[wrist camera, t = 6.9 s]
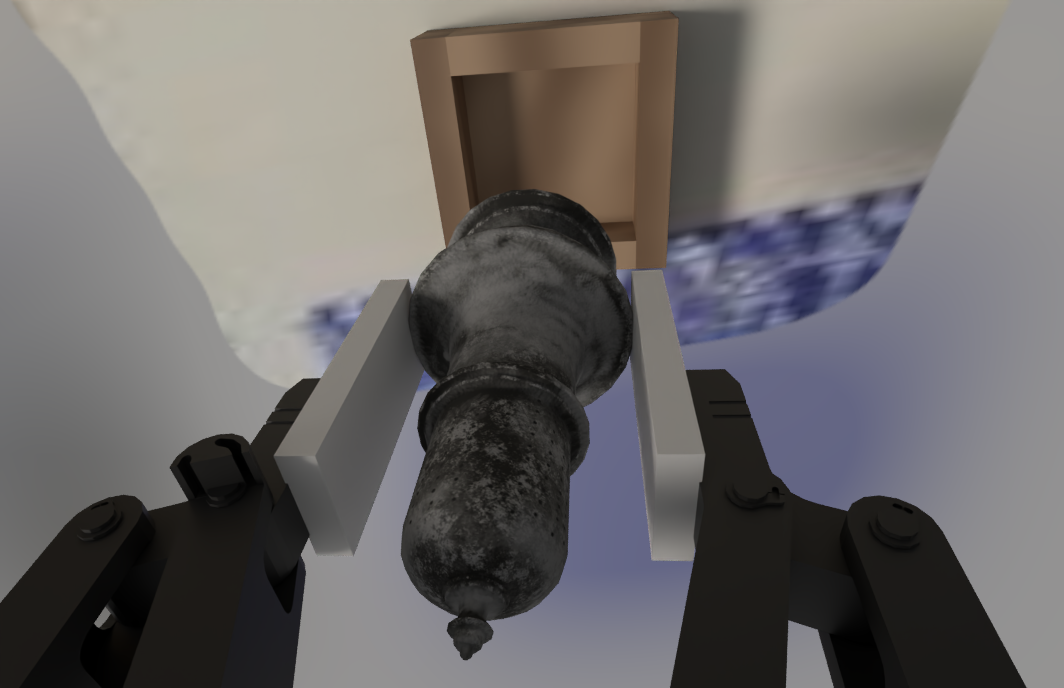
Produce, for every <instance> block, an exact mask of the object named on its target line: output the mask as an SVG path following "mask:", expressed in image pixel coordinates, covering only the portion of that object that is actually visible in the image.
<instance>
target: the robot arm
mask: <svg viewBox="0 0 1064 688" xmlns="http://www.w3.org/2000/svg"><path fill="white" fill-rule="evenodd" d="M411 296H412V292H411V288H410V283H409V279H401V280H381V281H380V283H379V284H378V286H377V288H376V289H375V291H374V292H373V294H372V296H371V297H370V299H369V301H368V302H367V304H366V306H365V307H364V309H363V310H362V312H361V314H360V315H359V317H358V319H357V320H356V322H355V324H354V325H353V327H352V328H351V330H350V332H349V333H348V335H347V337H346V338H345V340H344V342H343V343H342V345H341V346H340V348H339V350H338V351H337V353H336V355H335V356H334V358H333V360H332V361H331V363H330V364H329V366H328V368H327V369H326V371H325V373H324V374H323V376H322V377H321V378H311V379H302V380H301V381H300V382H298V383H297V384H296V385H295V386H293V387H292V388H291V389H289V390H288V391H287V392H286V393H285V394H284V396H283V397H282V399H281V400H280V402H279V403H278V404H277V406H276V408H275V412H272V413H271V415H270V416H269V418H268V420H267V421H266V425H263V427H262V428H261V430H260V431H259V433H258V434H257V436H256V437H255V439H254V440H253V442H252V443H251V445H249V442H248V441H247V440H246V439H244V437H243V436H239V435H235V434H220V435H215V436H212V437H209V438H205V439H203V440H201V441H199V442H197V443H195V444H193V445H191V446H189V447H188V448H187V449H185V450H184V451H183V452H182V453H181V454H179V455H178V456H177V457H176V459H175V460H174V461H173V463H172V464H171V466H170V469H171V471H172V473H173V474H174V476H175V478H176V479H177V481H178V483H179V485H180V486H181V488H182V490H183V491H184V493H185V495H186V497H187V498H188V501H186V502H183V503H179V504H175V505H171V506H167V507H163V508H159V509H155V510H151V511H147V509H146V508H145V506H144V505H143V503H142V502H141V501H140V500H139V499H137V498H136V497H135V496H128V495H120V496H115V497H109V498H106V499H104V500H101V501H99V502H97V503H94V504H92V505H90V506H89V507H87V508H86V509H84V510H82V511H81V512H79V513H78V514H77V515H76V516H75V517H73V519H71V521H69V522H68V523H67V524H66V525H65V526H64V527H63V529H62V530H61V531H60V532H59V533H58V535H57V536H56V537H55V538H54V539H53V541H52V542H51V543H50V544H49V545H48V547H47V548H46V549H45V550H44V551H43V553H42V554H41V555H40V556H39V557H38V559H37V560H36V561H35V562H34V563H33V565H32V566H31V567H30V568H29V569H28V571H27V572H26V573H25V574H24V575H23V576H22V578H21V579H20V580H19V581H18V583H17V584H16V585H15V586H14V587H13V589H12V590H11V591H10V592H9V593H8V594H7V596H6V597H5V598H4V599H3V600H2V602H1V603H0V688H293V681H294V673H295V664H296V655H297V646H298V638H299V629H300V619H301V611H302V602H303V594H304V584H305V576H306V571H305V564H304V562H303V559H302V557H301V553H302V550H303V549H304V546H305V544H306V542H307V540H308V538H310V541H311V543H312V545H313V548H314V550H315V552H316V554H317V555H318V556H354V553H355V551H356V548H357V546H358V543H359V540H360V538H361V535H362V532H363V530H364V527H365V524H366V522H367V519H368V517H369V514H370V511H371V509H372V506H373V503H374V501H375V498H376V495H377V493H378V490H379V488H380V485H381V482H382V480H383V477H384V475H385V472H386V469H387V466H388V464H389V461H390V459H391V456H392V454H393V451H394V448H395V446H396V443H397V440H398V438H399V435H400V432H401V430H402V427H403V425H404V422H405V419H406V416H407V414H408V411H409V409H410V406H411V403H412V401H413V398H414V395H415V393H416V390H417V388H418V385H419V382H420V380H421V377H422V375H423V372H424V367H423V366H422V364H421V362H420V360H419V358H418V357H417V355H416V353H415V350H414V346H413V342H412V338H411V333H410V329H409V323H408V318H409V305H410V299H411ZM631 309H632V312H633V345H632V350H631V353H630V360H631V370H632V380H633V389H634V398H635V408H636V417H637V426H638V435H639V445H640V454H641V464H642V473H643V482H644V492H645V501H646V510H647V518H648V519H647V520H648V529H649V538H650V548H651V557H652V560H663V561H665V560H666V561H668V560H669V561H670V560H671V561H693V557H694V548H695V549H696V552H695V558H694V563H693V569H692V574H691V579H690V585H689V590H688V595H687V600H686V606H685V611H684V616H683V622H682V627H681V633H680V638H679V643H678V648H677V654H676V659H675V665H674V670H673V675H672V680H671V686H670V688H786V668H787V641H788V620H790V621H793V622H796V623H799V624H802V625H805V626H808V627H811V628H814V629H818V632H819V636H820V639H821V643H822V646H823V650H824V654H825V657H826V660H827V664H828V668H829V671H830V675H831V679H832V682H833V686H834V688H1026V686H1025V684H1024V682H1023V680H1022V678H1021V676H1020V675H1019V673H1018V671H1017V669H1016V667H1015V665H1014V664H1013V662H1012V660H1011V658H1010V656H1009V654H1008V652H1007V650H1006V649H1005V647H1004V645H1003V643H1002V641H1001V640H1000V638H999V636H998V634H997V632H996V630H995V628H994V626H993V624H992V623H991V621H990V619H989V617H988V615H987V613H986V612H985V609H984V608H983V606H982V604H981V602H980V600H979V598H978V596H977V595H976V593H975V591H974V589H973V587H972V585H971V584H970V582H969V580H968V578H967V576H966V574H965V572H964V570H963V569H962V567H961V565H960V563H959V561H958V560H957V558H956V556H955V554H954V552H953V550H952V548H951V546H950V544H949V543H948V541H947V539H946V537H945V535H944V534H943V531H942V530H941V529H940V528H939V526H938V525H937V524H936V523H935V521H934V520H933V519H932V518H931V517H930V516H929V515H927V514H926V513H925V512H923V511H921V510H920V509H919V508H918V507H916V506H914V505H912V504H909V503H907V502H904V501H902V500H900V499H897V498H891V497H885V496H871V497H863V498H862V499H860V500H858V501H856V502H855V503H853V504H852V505H851V507H850V509H849V510H848V511H845V510H841V509H837V508H832V507H829V506H824V505H821V504H817V503H814V502H811V501H808V500H805V499H802V498H800V497H799V496H797V495H795V494H793V493H791V492H790V490H789V489H788V488H787V486H786V485H785V484H784V483H783V482H782V480H781V479H780V478H778V477H777V476H775V475H774V474H772V472H771V470H770V468H769V465H768V462H767V459H766V456H765V453H764V451H763V448H762V445H761V442H760V439H759V436H758V434H757V431H756V428H755V425H754V422H753V419H752V418H751V414H750V411H749V408H748V405H747V404H746V400H745V396H744V394H743V391H742V388H741V385H740V383H739V382H738V381H737V380H735V378H733V377H732V376H731V375H730V374H729V373H728V372H727V371H726V370H725V369H716V370H715V369H714V370H713V369H712V370H685V366H684V362H683V358H682V353H681V349H680V345H679V341H678V336H677V332H676V328H675V323H674V319H673V315H672V311H671V306H670V302H669V298H668V294H667V289H666V285H665V281H664V277H663V272H662V270H648V271H632V279H631ZM105 607H106V608H107V609H108V610H109V612H110V613H111V614H110V616H109V617H108V619H107V620H106V622H105V623H104V624H103V625H102V626H101V627H100V628H98V627H96V625H95V624H94V622H95V621H96V620H97V618H98V616H99V615H100V614H101V612H102V610H103V609H104V608H105Z"/></svg>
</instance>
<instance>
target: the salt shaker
mask: <svg viewBox="0 0 1064 688" xmlns="http://www.w3.org/2000/svg"><path fill="white" fill-rule="evenodd" d="M408 323H409V329H410V333H411V338H412V342H413V346H414V350H415V353H416V355H417V357H418V358H419V360H420V362H421V364H422V366H423V367H424V369H425V371H426V372H427V373H428V374H429V376H430V377H431V378H432V379H433V380H434V381H435V382H436V383H437V384H436V385H435V386H434V387H433V388H432V389H431V390H430V391H429V392H428V393H427V395H426V397H425V400H424V402H423V404H422V406H421V408H420V410H419V418H418V427H417V429H418V433H419V437H420V442H421V445H422V447H423V449H424V451H425V452H426V455H425V458H424V461H423V464H422V467H421V470H420V474H419V477H418V480H417V483H416V486H415V489H414V493H413V496H412V499H411V502H410V505H409V509H408V512H407V515H406V518H405V521H404V524H403V532H402V543H401V557H402V560H403V563H404V567H405V570H406V571H407V574H408V575H409V577H410V580H411V581H412V583H413V584H414V586H415V587H416V589H417V590H418V591H419V593H420V594H421V595H423V596H424V597H425V598H426V599H427V600H429V601H430V602H431V603H433V604H434V605H436V606H438V607H439V608H441V609H443V610H445V611H447V612H448V613H450V614H453V615H456V616H458V618H455V619H454V620H452V621H451V622H449V623H448V628H447V632H448V634H449V635H450V637H451V638H453V642H454V646H455V647H456V649H457V650H458V651H459V652H460V656H461V658H463V660H468V659H470V658H471V657H472V655H473V654H474V653H476V652H477V651H479V650H481V648H482V645H483V644H484V643H486V642H488V641H489V640H491V639H492V635H493V630H492V628H491V627H490V625H489V624H488V623H487V622H486V621H487V620H488V621H491V620H497V619H504V618H508V617H512V616H515V615H518V614H521V613H524V612H527V611H528V610H530V609H532V608H533V607H535V606H537V605H538V604H539V603H540V602H541V601H542V600H543V599H544V598H545V597H546V596H547V595H548V594H549V593H550V592H551V591H552V590H553V589H554V588H555V586H556V585H557V584H558V583H559V580H560V578H561V575H562V572H563V569H564V565H565V562H566V559H567V555H568V522H569V489H570V476H571V475H572V474H573V473H574V472H575V471H576V470H577V468H578V467H579V466H580V464H581V463H582V462H583V460H584V458H585V455H586V453H587V449H588V446H589V444H590V440H589V421H588V419H587V416H586V413H585V411H584V408H583V407H585V406H587V405H589V404H591V403H592V402H594V401H595V400H596V399H598V398H599V397H600V396H601V395H603V394H604V393H605V392H606V391H607V390H609V389H610V388H611V387H612V386H613V384H614V383H615V381H616V380H617V379H618V377H619V376H620V375H621V373H622V372H623V370H624V369H625V368H626V365H627V362H628V359H629V356H630V353H631V350H632V345H633V312H632V309H631V305H630V302H629V299H628V295H627V292H626V290H625V288H624V287H623V285H622V284H621V282H620V281H619V279H618V278H617V276H616V256H615V253H614V250H613V246H612V243H611V240H610V238H609V236H608V234H607V233H606V231H605V230H604V228H603V227H602V225H601V224H600V222H599V221H598V219H596V218H595V217H594V216H593V215H592V214H591V213H590V212H589V211H587V210H586V209H585V208H584V207H583V206H582V205H581V204H579V203H577V202H574V201H572V200H570V199H568V198H566V197H564V196H562V195H560V194H557V193H552V192H548V191H543V190H538V189H525V190H510V191H507V192H504V193H501V194H498V195H495V196H492V197H489V198H487V199H486V200H484V201H483V202H481V203H480V204H478V205H477V206H475V207H474V208H472V209H471V210H470V211H469V212H468V213H467V214H466V215H465V217H464V218H463V219H462V220H461V221H460V222H459V224H458V225H457V226H456V228H455V230H454V233H453V235H452V237H451V239H450V242H449V244H448V246H447V248H446V249H444V250H443V251H441V252H440V253H438V254H437V256H436V257H435V258H434V259H433V260H432V261H431V263H430V264H429V265H428V266H427V267H426V269H425V270H424V271H423V272H422V273H421V275H420V277H419V279H418V282H417V284H416V286H415V289H414V291H413V294H412V296H411V299H410V305H409V318H408Z"/></svg>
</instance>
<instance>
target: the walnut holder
mask: <svg viewBox="0 0 1064 688" xmlns="http://www.w3.org/2000/svg"><path fill="white" fill-rule="evenodd" d="M678 22H679V18H677V17H676V16H675V15H674V14H672V13H671V12H670V11H662V12H650V13H637V14H625V15H613V16H601V17H589V18H576V19H564V20H552V21H540V22H527V23H515V24H503V25H491V26H478V27H466V28H454V29H442V30H429V31H426V32H424V33H422V34H420V35H419V36H417V37H415V38H413V39H411V40H410V42H411V48H412V54H413V60H414V65H415V71H416V77H417V83H418V89H419V94H420V100H421V106H422V112H423V118H424V123H425V129H426V135H427V141H428V146H429V152H430V158H431V164H432V170H433V175H434V181H435V187H436V193H437V199H438V204H439V210H440V216H441V222H442V228H443V233H444V239H445V245H446V248H447V246H448V244H449V242H450V239H451V237H452V235H453V233H454V230H455V228H456V226H457V225H458V224H459V222H460V221H461V220H462V219H463V218H464V217H465V215H466V214H467V213H468V212H469V211H470V210H471V209H472V208H474V207H475V206H477V205H478V204H480V203H481V202H483V201H484V200H486V199H487V198H489V197H492V196H495V195H498V194H501V193H504V192H507V191H510V190H525V189H538V190H543V191H548V192H552V193H557V194H560V195H562V196H564V197H566V198H568V199H570V200H572V201H574V202H577V203H579V204H581V205H582V206H583V207H584V208H585V209H586V210H587V211H589V212H590V213H591V214H592V215H593V216H594V217H595V218H596V219H598V221H599V222H600V224H601V225H602V227H603V228H604V230H605V231H606V233H607V234H608V236H609V238H610V240H611V243H612V246H613V250H614V253H615V256H616V269H641V268H666V257H667V238H668V218H669V199H670V179H671V159H672V140H673V120H674V101H675V81H676V61H677V42H678Z"/></svg>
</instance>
